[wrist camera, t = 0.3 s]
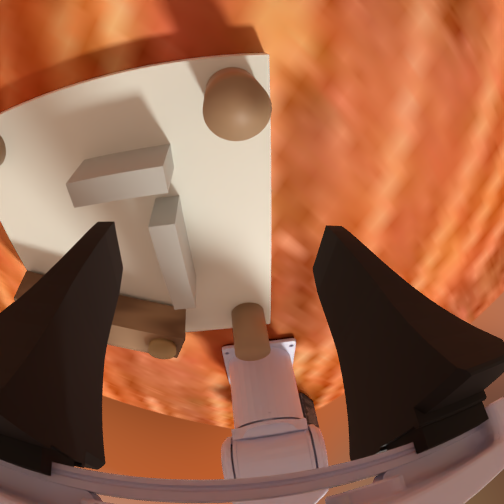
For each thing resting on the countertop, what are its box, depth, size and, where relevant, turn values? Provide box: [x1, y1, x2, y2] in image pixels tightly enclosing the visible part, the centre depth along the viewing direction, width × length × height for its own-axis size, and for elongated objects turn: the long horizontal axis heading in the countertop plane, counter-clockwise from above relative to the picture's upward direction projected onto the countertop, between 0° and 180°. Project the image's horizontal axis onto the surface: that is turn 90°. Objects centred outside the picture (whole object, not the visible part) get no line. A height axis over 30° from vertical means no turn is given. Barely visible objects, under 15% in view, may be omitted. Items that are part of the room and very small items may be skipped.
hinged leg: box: [14, 270, 186, 359], centre depth 22 cm, size 14×3×4 cm, turn 67°
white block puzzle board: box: [0, 53, 272, 361], centre depth 19 cm, size 22×20×6 cm
